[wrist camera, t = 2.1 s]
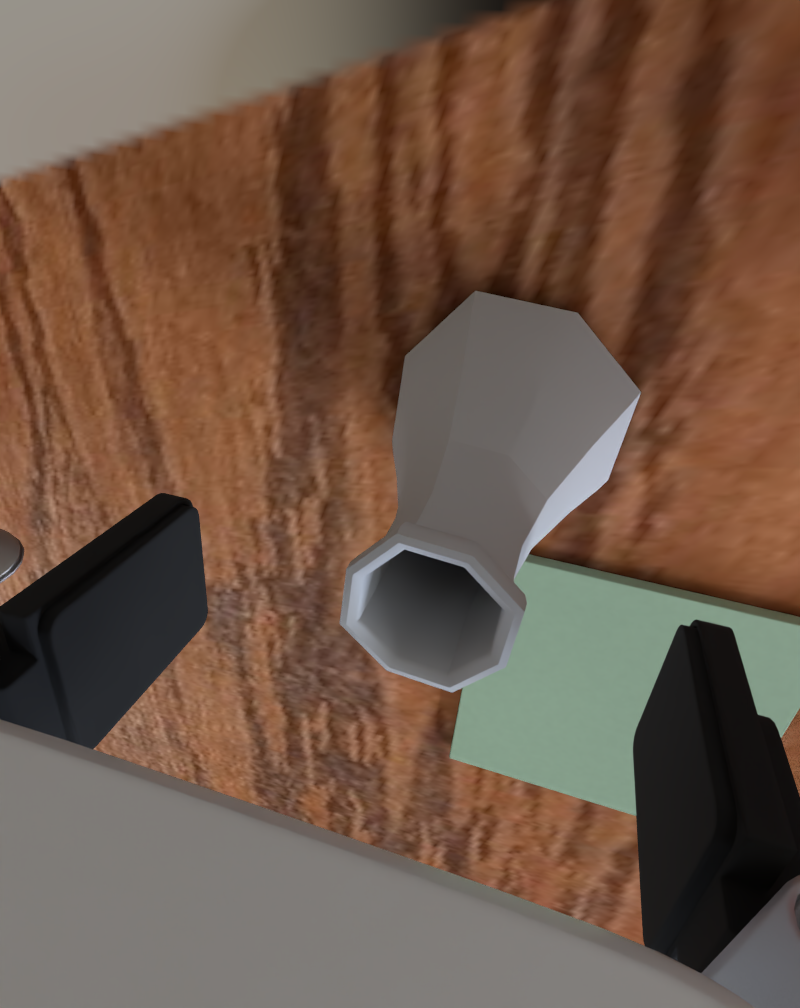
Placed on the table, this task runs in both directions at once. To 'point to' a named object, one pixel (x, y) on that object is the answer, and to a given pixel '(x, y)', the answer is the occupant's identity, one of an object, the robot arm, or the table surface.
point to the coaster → (604, 677)
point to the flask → (483, 482)
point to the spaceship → (9, 554)
